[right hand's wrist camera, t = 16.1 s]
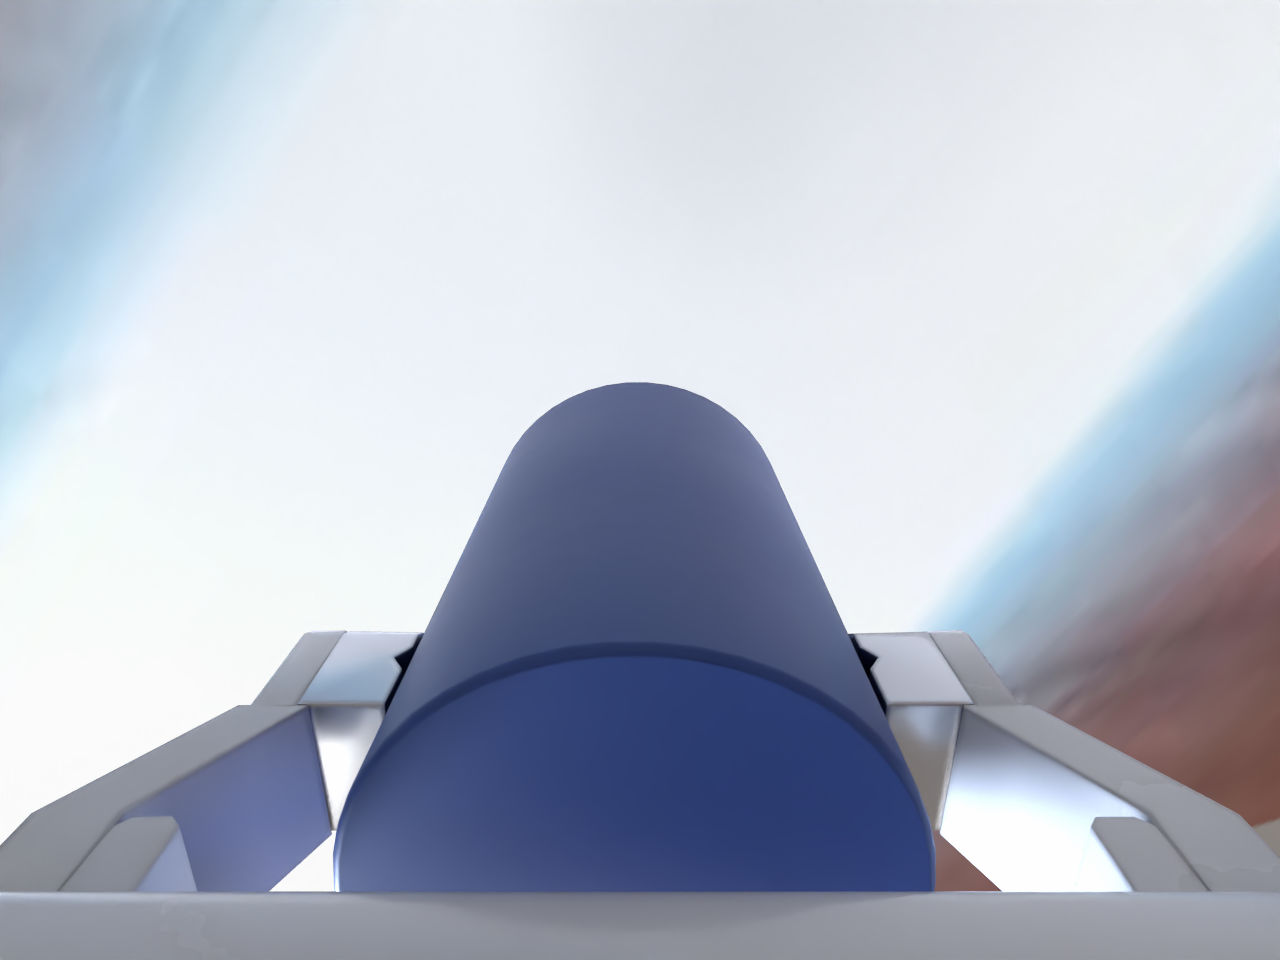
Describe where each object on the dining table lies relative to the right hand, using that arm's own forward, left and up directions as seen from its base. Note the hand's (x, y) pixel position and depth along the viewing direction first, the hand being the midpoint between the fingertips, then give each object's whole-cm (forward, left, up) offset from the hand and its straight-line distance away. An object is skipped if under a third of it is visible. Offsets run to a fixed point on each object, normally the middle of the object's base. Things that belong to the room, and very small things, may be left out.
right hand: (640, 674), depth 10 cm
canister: (0, 0, -5) cm, 5 cm away
